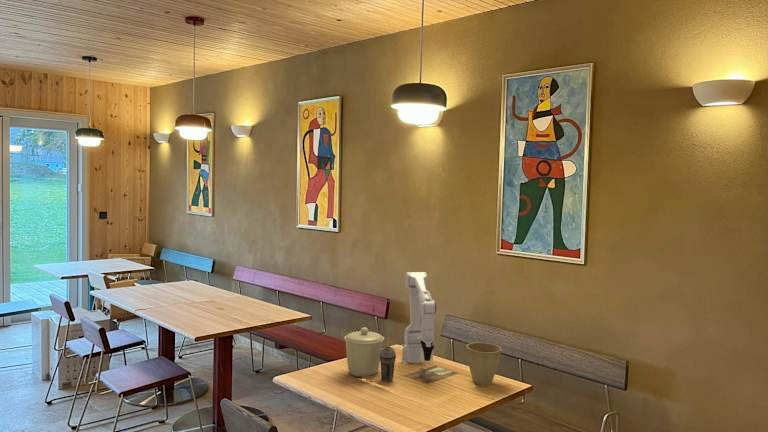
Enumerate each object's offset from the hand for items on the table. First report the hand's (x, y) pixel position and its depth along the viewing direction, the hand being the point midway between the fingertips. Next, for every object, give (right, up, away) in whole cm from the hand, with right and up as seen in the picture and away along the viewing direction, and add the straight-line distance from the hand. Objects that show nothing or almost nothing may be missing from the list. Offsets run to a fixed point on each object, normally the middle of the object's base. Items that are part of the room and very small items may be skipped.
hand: (426, 358), depth 246 cm
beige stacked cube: (0, -1, 0) cm, 1 cm away
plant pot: (+24, -10, -4) cm, 26 cm away
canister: (-28, -8, +5) cm, 30 cm away
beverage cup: (-18, -9, -6) cm, 21 cm away
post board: (+2, -9, +3) cm, 10 cm away
